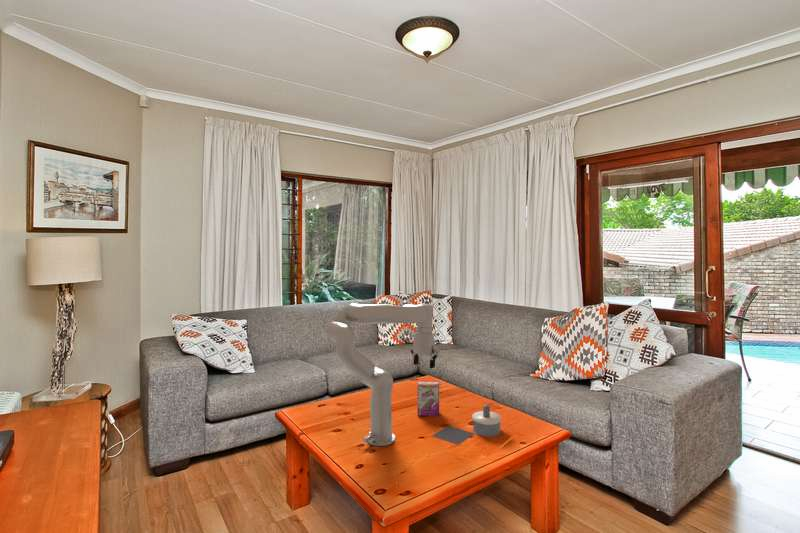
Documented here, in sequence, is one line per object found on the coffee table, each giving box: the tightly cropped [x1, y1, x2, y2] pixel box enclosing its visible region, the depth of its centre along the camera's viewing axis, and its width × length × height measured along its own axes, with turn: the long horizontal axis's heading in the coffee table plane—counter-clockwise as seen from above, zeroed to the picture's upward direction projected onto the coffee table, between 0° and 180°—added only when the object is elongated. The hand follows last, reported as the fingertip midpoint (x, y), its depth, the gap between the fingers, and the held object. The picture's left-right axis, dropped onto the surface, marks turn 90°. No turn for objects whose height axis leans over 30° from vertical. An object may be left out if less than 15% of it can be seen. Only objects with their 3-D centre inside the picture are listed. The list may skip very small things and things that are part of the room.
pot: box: [472, 420, 501, 438], centre depth 191 cm, size 12×12×6 cm
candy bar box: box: [417, 381, 440, 417], centre depth 212 cm, size 11×5×16 cm, turn 84°
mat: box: [431, 425, 476, 446], centre depth 188 cm, size 14×14×1 cm
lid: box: [471, 404, 502, 425], centre depth 191 cm, size 13×13×6 cm
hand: (424, 366), depth 196 cm, fingers open, 9 cm apart
